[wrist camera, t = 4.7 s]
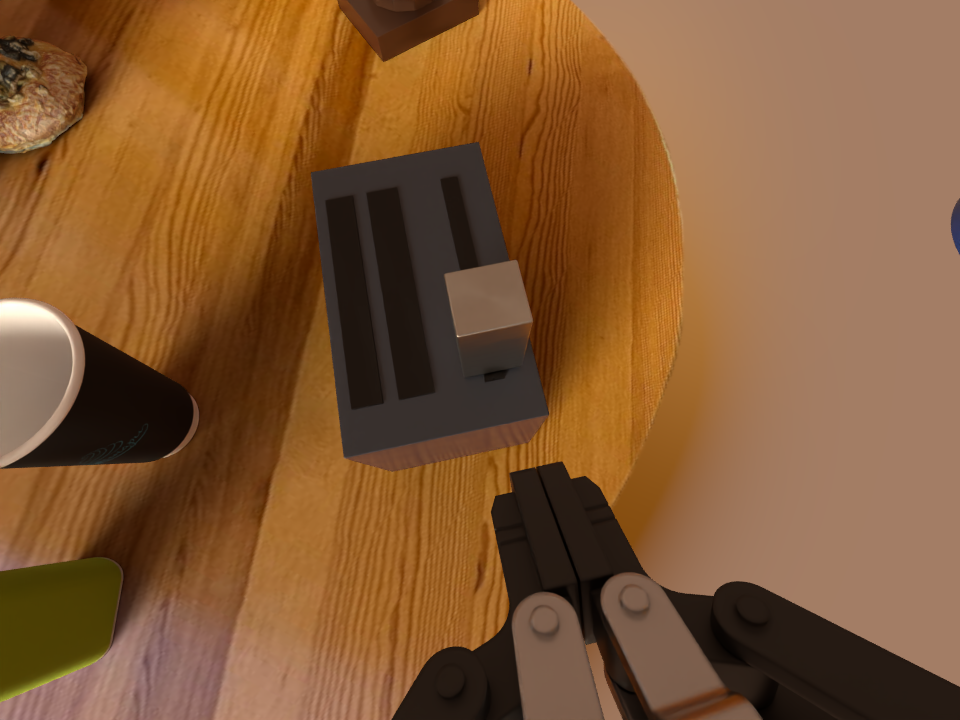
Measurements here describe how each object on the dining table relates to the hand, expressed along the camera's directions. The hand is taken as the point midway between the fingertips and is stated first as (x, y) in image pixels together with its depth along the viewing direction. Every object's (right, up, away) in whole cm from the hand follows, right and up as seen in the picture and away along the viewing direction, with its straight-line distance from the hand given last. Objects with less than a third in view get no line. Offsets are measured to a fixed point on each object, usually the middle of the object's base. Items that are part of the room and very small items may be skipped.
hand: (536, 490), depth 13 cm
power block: (-8, +35, +28) cm, 46 cm away
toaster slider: (-1, +4, +7) cm, 9 cm away
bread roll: (-40, +25, +26) cm, 54 cm away
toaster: (-4, +4, +18) cm, 19 cm away
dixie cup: (-23, -1, +17) cm, 28 cm away
